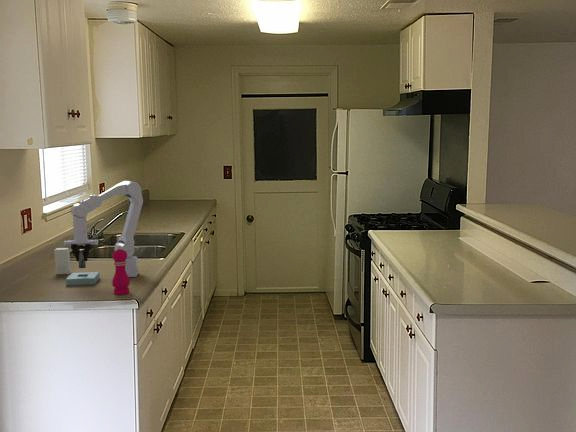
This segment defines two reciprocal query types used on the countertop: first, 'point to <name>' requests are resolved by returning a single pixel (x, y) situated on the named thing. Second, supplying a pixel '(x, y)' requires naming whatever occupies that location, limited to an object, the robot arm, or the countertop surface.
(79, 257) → the metal peg
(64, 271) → the skincare box
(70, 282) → the socket block
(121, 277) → the pepper mill
